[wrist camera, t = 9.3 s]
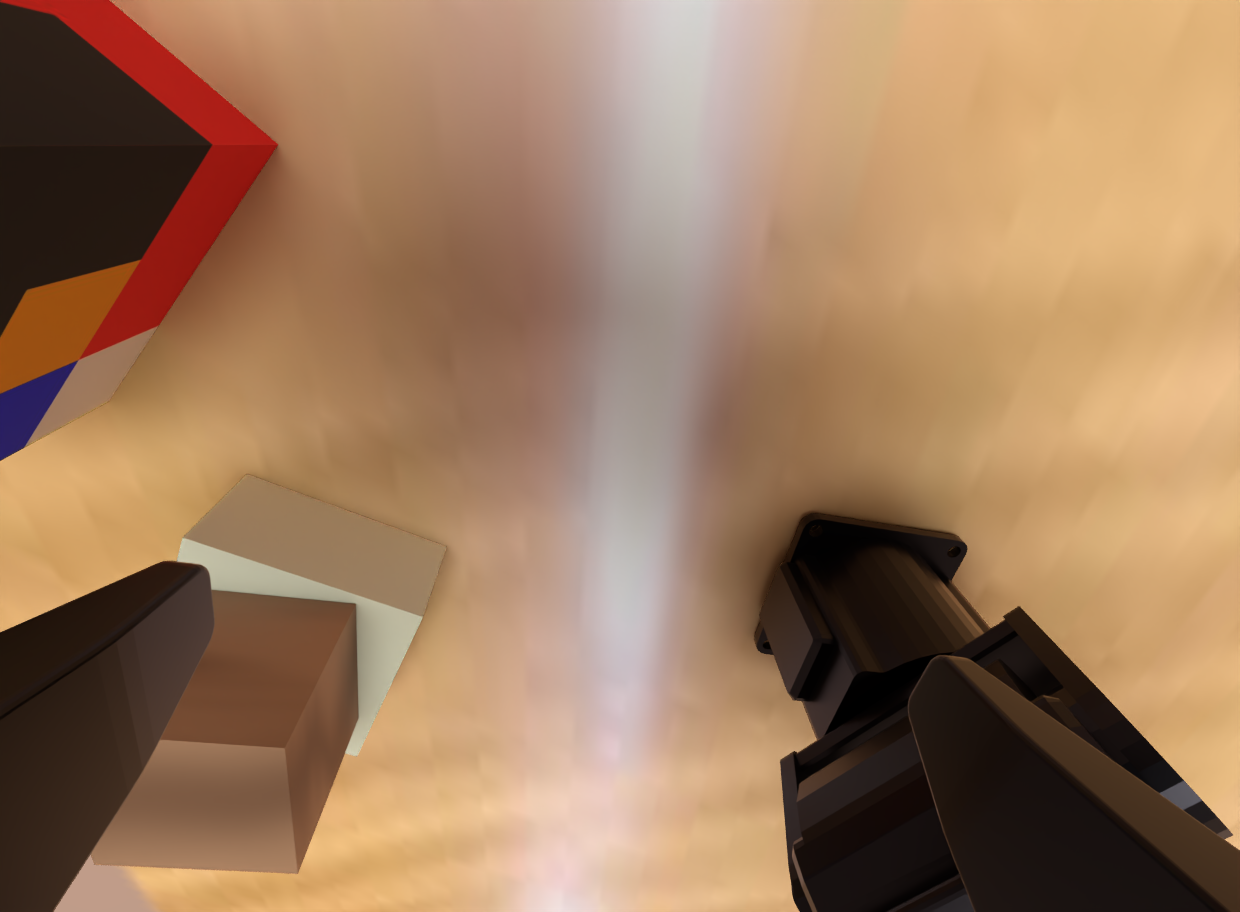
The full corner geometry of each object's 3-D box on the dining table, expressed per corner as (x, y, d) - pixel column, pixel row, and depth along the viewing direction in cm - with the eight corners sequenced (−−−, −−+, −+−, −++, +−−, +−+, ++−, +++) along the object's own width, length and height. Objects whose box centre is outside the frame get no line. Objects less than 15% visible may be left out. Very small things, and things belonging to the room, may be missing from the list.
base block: (448, 542, 23) (423, 617, 19) (388, 670, 25) (357, 756, 22) (250, 470, 21) (182, 537, 17) (209, 615, 24) (143, 699, 20)
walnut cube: (358, 717, 21) (297, 873, 17) (201, 706, 20) (94, 864, 16) (355, 603, 19) (284, 748, 14) (179, 586, 18) (48, 731, 14)
